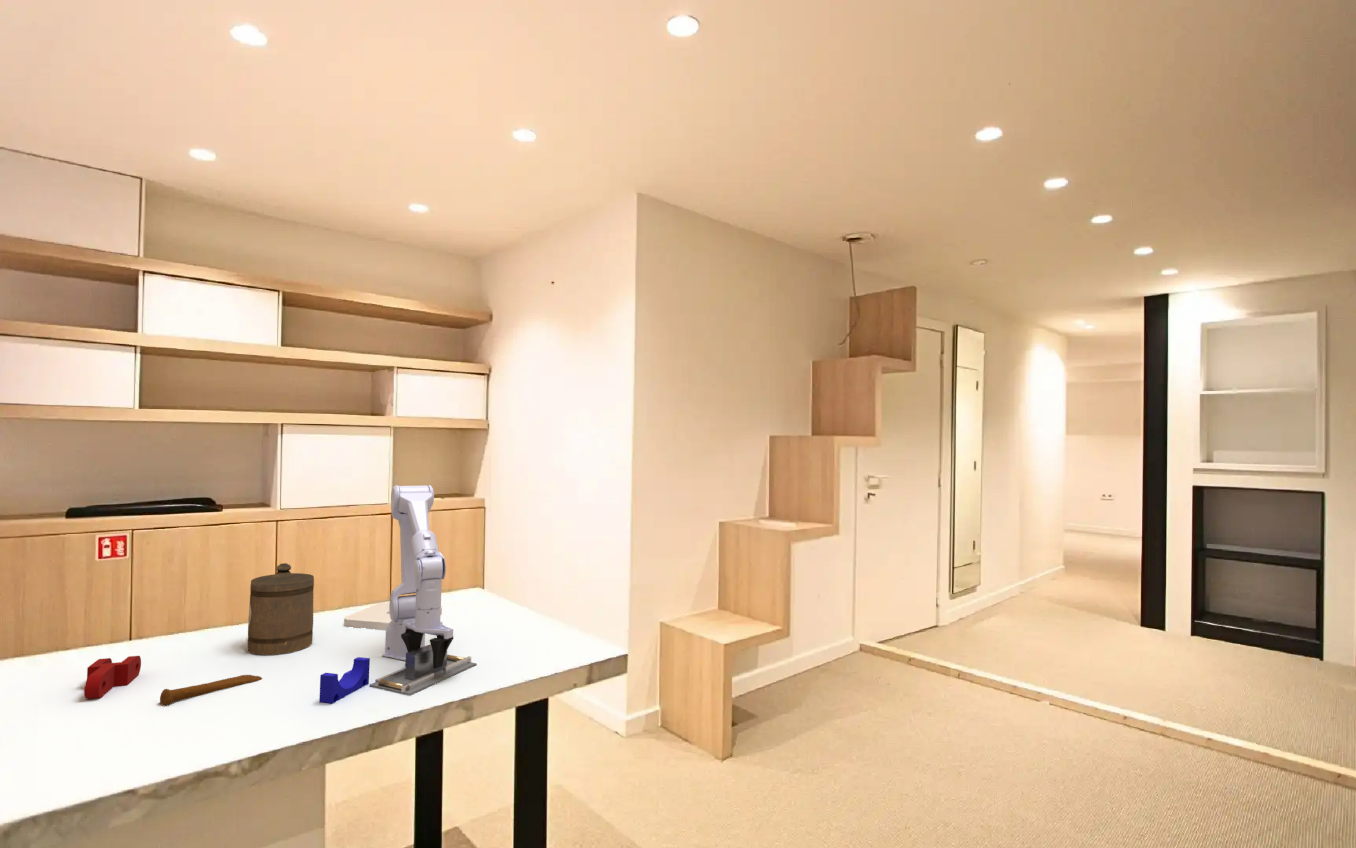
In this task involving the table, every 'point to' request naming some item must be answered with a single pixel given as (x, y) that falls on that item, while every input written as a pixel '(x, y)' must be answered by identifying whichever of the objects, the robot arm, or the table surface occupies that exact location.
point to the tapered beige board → (371, 617)
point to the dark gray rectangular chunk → (421, 663)
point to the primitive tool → (204, 688)
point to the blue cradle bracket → (344, 682)
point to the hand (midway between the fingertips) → (426, 664)
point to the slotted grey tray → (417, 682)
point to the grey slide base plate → (437, 678)
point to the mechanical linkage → (110, 675)
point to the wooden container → (280, 612)
